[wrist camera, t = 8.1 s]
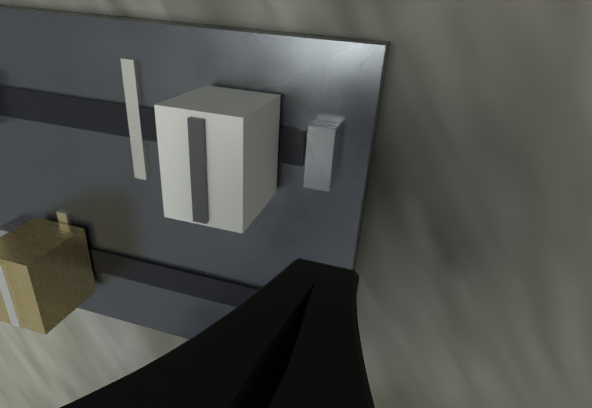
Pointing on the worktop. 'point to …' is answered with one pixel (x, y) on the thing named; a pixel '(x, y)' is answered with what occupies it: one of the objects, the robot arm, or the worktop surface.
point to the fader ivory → (218, 155)
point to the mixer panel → (145, 158)
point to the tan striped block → (43, 274)
